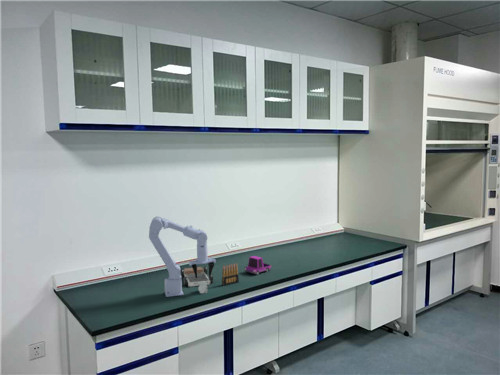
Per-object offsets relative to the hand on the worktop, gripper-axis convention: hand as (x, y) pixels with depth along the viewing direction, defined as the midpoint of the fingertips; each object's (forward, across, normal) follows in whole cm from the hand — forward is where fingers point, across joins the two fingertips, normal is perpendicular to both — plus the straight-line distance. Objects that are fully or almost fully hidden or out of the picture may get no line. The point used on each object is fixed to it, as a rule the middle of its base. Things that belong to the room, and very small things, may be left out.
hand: (203, 276), depth 228 cm
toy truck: (+9, +41, +24) cm, 49 cm away
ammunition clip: (+9, +18, +8) cm, 21 cm away
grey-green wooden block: (+9, 0, 0) cm, 9 cm away
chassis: (+9, 0, +22) cm, 24 cm away
